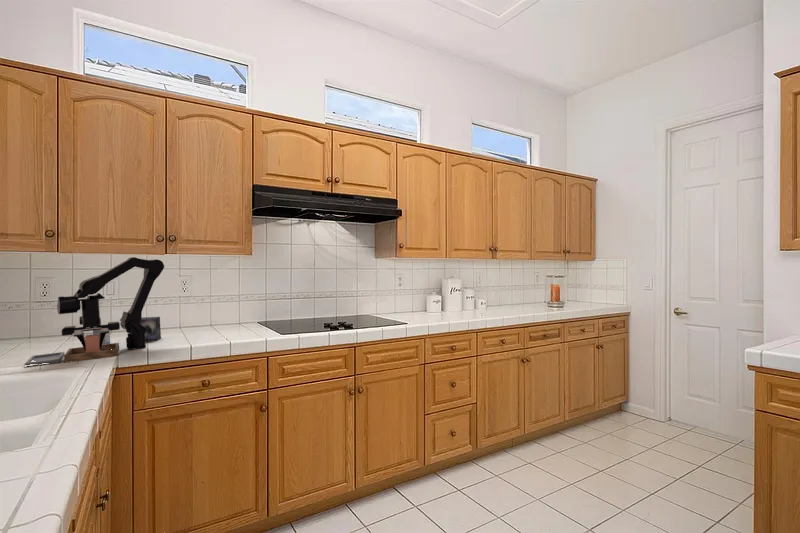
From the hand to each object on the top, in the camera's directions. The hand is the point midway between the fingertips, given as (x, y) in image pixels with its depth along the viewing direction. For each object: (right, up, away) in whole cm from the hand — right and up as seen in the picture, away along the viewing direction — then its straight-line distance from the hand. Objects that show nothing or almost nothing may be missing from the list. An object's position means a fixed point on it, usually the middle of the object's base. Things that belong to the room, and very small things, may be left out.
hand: (93, 349), depth 173 cm
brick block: (0, -2, 0) cm, 2 cm away
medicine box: (-8, -2, +17) cm, 19 cm away
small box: (+6, -1, +26) cm, 27 cm away
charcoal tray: (-13, -3, -8) cm, 15 cm away
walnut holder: (0, -2, 0) cm, 2 cm away
